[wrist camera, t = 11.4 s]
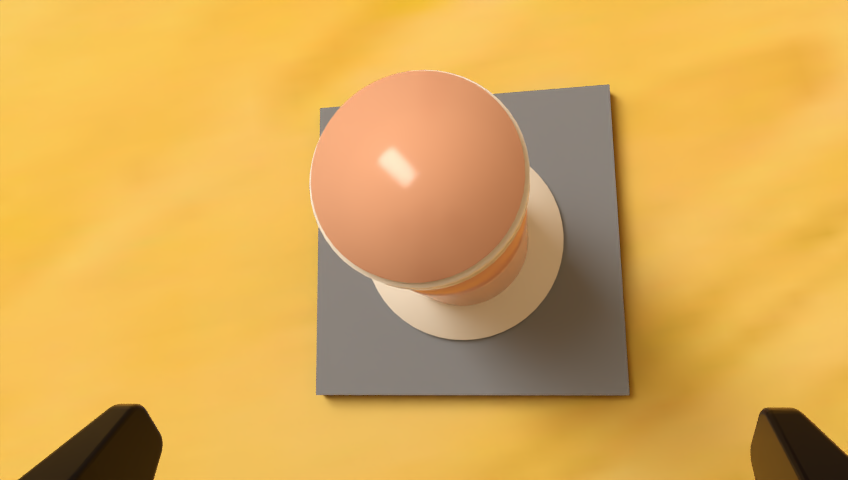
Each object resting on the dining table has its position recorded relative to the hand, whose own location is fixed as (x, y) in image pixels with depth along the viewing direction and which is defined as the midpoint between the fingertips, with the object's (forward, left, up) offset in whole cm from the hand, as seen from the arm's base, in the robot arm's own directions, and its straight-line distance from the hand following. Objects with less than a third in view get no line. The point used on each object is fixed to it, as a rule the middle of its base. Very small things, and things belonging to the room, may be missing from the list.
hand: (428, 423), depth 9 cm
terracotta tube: (+5, +2, -13) cm, 14 cm away
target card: (+5, +2, -14) cm, 14 cm away
